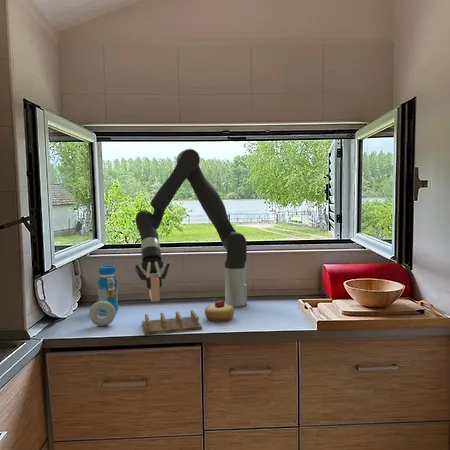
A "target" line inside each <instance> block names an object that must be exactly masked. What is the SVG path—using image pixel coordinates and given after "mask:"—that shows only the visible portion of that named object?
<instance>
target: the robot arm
mask: <svg viewBox="0 0 450 450" xmlns="http://www.w3.org/2000/svg"><path fill="white" fill-rule="evenodd" d="M200 157H201V156H200V154H199V153H198V152H197V151H196V150H195V149H192V148H187V149H183V150H182V151H180V152H179V153H178V154H177V157H176V164H175V166H174V169H173V170H172V172H171V173H170V175H169V176H168V177H167V179H166V180H165V181H164V182H163V184H161V186H160V187H159V189H158V190H157V191H156V193H155V195H154V196H153V197H152V199H151V201H150V203H149V204H150V206H151V208H152V209H153V212H150V211H149V210H146V209H142V210H139V211H138V212H137V214H136V216H135V225H136V227H137V231H138V233H139V235H140V244H141V245H140V249H141V250H140V252H141V264H140V265H138V264H136V265H135V268H134V271H135V272H136V273H137V275H138V276H139V278H140V280H141V281H145V283H146V288H147V289H148V290H149V289H151V284H150V278H149V277H150V275H152V274H155V275H157V276H158V278H159V288H160V289H161V288H162V285H163V282H162V280H165V279H166V277H167V276H168V273H169V270H170V263H164V262H163V260H162V253H161V245H160V241H159V234H158V231H157V229H159V227H160V226H161V223H162V219H163V217H164V215H165V212H166V209H167V208H168V206H169V205H170V203H171V202H172V200H173V198H174V197H175V196H176V194H177V192H178V190H179V189H180V188H181V186H182V185H183V184H184V182H185V181H186V180H187V181H188V183H189V184H190V187H191V188H192V190H193V193H194V194H195V196H196V198H197V200H198V202H199V205H201V207H202V209H203V212H205V214H206V216H207V217H208V219H209V220H210V222H211V224H212V226H213V227H214V228H215V230H216V232H217V234H218V236H219V239H220V241H221V244H222V246H223V247H224V248H225V250H226V260H225V261H224V291H225V293H224V295H225V297H224V298H225V299H224V302H225V304H227V305H229V306H230V305H231V306H233V308H237V307H238V308H239V307H240V308H241V307H244V306H248V294H247V293H248V290H247V289H248V286H247V284H246V263H247V253H248V252H247V247H248V246H247V245H248V244H247V240H246V237H245V235H244V234H242V233H240V232H237V231H236V229H235V228H234V226H233V225H232V223H231V222H230V219H229V218H228V214H227V209H226V206H225V204H224V201H223V199H222V198H221V196H220V194H219V192H218V191H217V190H216V188H215V186H214V185H213V184H212V183H211V182H210V181H209V179H207V177H206V176H205V175H204V172H203V171H202V169H201V167H200V161H201V158H200ZM162 268H163V271H162V273H161V269H162ZM142 269H143V270H144V271H145V273H146V274H145V273H144V272H143V270H142Z"/></svg>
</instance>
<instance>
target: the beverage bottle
mask: <svg viewBox="0 0 450 450" xmlns="http://www.w3.org/2000/svg"><path fill="white" fill-rule="evenodd" d="M98 272H99V278H98V280H97V284H98V286H97V292H98V294H97V295H98V301H107V302H110V303H111V304H112V305H113V306H114V308H115V312H116V313H118V311H119V304H118V303H119V302H118V300H119V299H118V297H119V296H118V289H119V286H118V279H117V277H116V276H115V274H116V266H115V265H101V266H99V268H98ZM98 314H100V315H107V312H106V311H105V310H103V309H101V310H99V311H98Z"/></svg>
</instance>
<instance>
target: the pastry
mask: <svg viewBox="0 0 450 450" xmlns="http://www.w3.org/2000/svg"><path fill="white" fill-rule="evenodd" d="M213 300H217V301H215V303H212V304H210V305H208V306H206V307H205V308H204V315H205V318H206V319H207V321H208V322H212V323H223V322H224V323H225V322H229V321H231V320H232V319H233V318H234V314H235V309H234V308H235V307H233V306H231V305H230V306H229V305H227V304H225V300H221V299H220V300H219V299H218V298H217V297H214V298H212V300H210V302H213Z"/></svg>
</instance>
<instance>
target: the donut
mask: <svg viewBox="0 0 450 450" xmlns="http://www.w3.org/2000/svg"><path fill="white" fill-rule="evenodd" d="M101 309H103V310H105V311H106V312H107V314H105V316H104V317H101V316H100V315H99V310H101ZM116 313H117V312H115V308H114V306H113V305H112V304H111V303H110V302H107V301H99V300H98V301H96V302H95V303H93V304H92V305H91V306H90V308H89V312H88V318H89V320H90V322H91V323H92V324H94V325H96V326H98V327H105V326H108V325H110V324H111V323H112V322H113V321H114V320H115V318H116Z"/></svg>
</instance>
